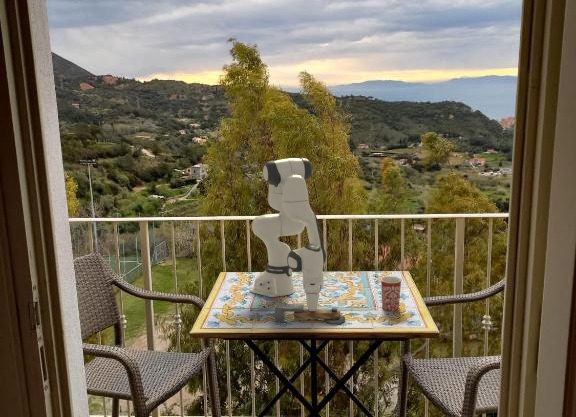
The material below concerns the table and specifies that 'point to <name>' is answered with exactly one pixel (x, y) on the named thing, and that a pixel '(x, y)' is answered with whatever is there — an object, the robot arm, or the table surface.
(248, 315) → the table surface
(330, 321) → the pivot base
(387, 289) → the mug
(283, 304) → the keeper
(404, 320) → the table surface
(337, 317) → the walnut link
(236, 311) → the table surface
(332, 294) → the table surface
